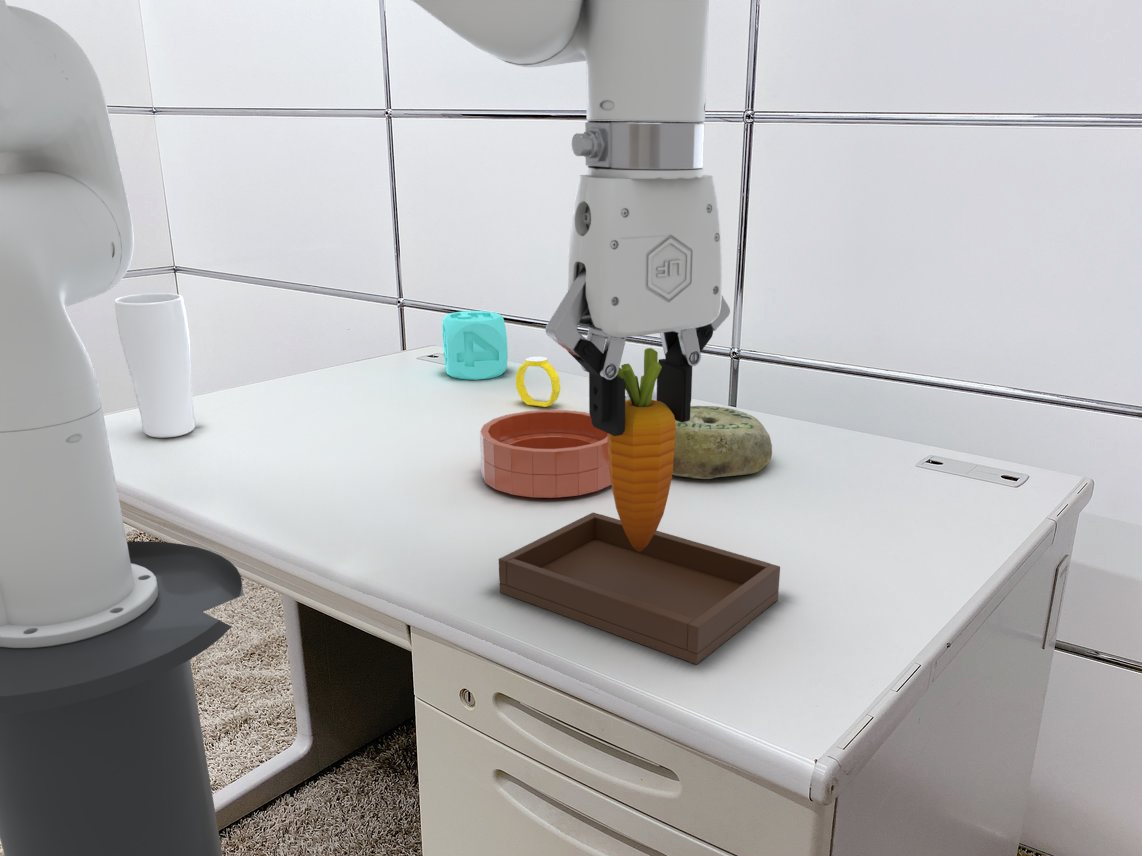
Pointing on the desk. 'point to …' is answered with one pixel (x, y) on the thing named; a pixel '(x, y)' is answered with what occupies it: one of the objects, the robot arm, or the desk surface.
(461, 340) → the decorative dice
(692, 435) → the weight
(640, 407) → the carrot
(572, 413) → the bowl
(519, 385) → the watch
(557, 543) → the tray
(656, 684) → the desk surface
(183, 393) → the drinking glass
